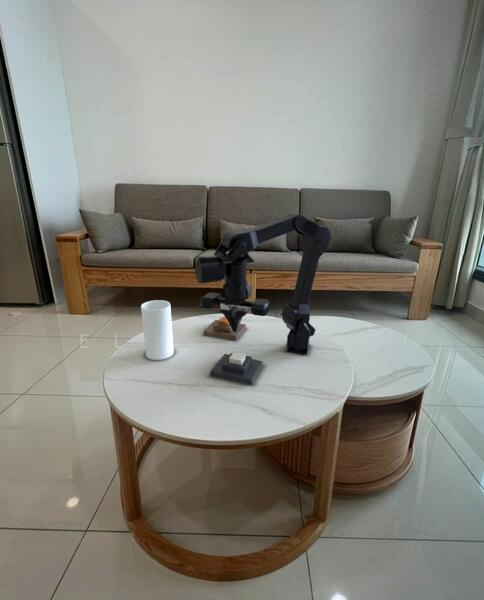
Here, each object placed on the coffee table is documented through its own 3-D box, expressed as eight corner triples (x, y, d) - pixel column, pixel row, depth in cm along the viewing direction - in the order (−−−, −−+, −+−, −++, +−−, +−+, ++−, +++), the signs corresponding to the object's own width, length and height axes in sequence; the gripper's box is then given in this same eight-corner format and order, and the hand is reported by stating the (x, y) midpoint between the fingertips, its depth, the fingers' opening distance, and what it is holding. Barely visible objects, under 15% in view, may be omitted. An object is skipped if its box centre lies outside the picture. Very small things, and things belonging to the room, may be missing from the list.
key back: (231, 322, 115) (231, 318, 114) (228, 326, 111) (227, 322, 111) (222, 321, 116) (222, 316, 115) (218, 325, 112) (218, 320, 112)
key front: (245, 359, 91) (245, 354, 91) (241, 366, 88) (241, 360, 87) (233, 357, 92) (233, 351, 92) (229, 363, 89) (229, 358, 88)
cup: (157, 363, 94) (152, 312, 88) (140, 353, 99) (135, 305, 93) (179, 352, 100) (176, 304, 95) (162, 344, 105) (158, 298, 99)
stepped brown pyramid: (245, 328, 117) (245, 319, 116) (235, 340, 108) (236, 331, 107) (215, 323, 121) (215, 315, 119) (203, 334, 112) (203, 325, 111)
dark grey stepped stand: (262, 365, 94) (263, 355, 93) (251, 385, 85) (252, 373, 84) (224, 358, 97) (224, 348, 96) (210, 376, 88) (210, 365, 87)
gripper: (276, 274, 91) (273, 325, 96) (215, 268, 96) (216, 316, 101) (266, 286, 81) (264, 341, 86) (198, 278, 86) (200, 331, 91)
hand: (235, 331), depth 91 cm, fingers closed
